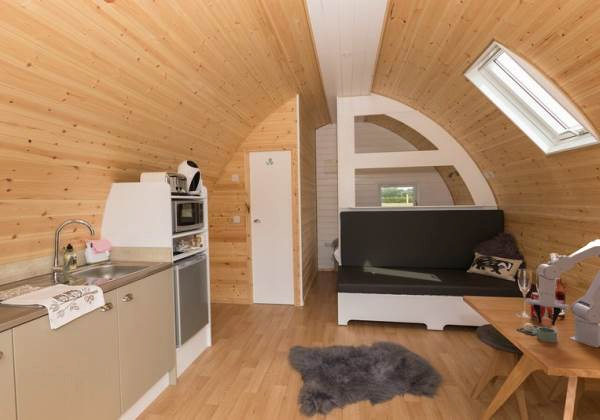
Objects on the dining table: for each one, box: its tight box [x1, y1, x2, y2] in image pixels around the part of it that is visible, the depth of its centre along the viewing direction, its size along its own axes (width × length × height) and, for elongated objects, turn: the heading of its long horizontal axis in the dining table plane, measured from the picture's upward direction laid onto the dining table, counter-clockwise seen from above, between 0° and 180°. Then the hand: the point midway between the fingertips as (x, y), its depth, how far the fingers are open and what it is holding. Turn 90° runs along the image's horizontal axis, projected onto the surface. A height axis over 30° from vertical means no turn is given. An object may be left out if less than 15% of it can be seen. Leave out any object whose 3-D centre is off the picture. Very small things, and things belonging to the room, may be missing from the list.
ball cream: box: [522, 322, 534, 332], centre depth 149 cm, size 4×4×4 cm
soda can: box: [530, 291, 549, 321], centre depth 165 cm, size 7×7×13 cm
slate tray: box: [516, 324, 539, 337], centre depth 150 cm, size 7×12×1 cm, turn 114°
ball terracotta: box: [540, 317, 553, 328], centre depth 141 cm, size 4×4×4 cm
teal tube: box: [536, 326, 558, 343], centre depth 141 cm, size 7×7×4 cm
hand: (546, 323), depth 141 cm, fingers closed on ball terracotta, 4 cm apart
